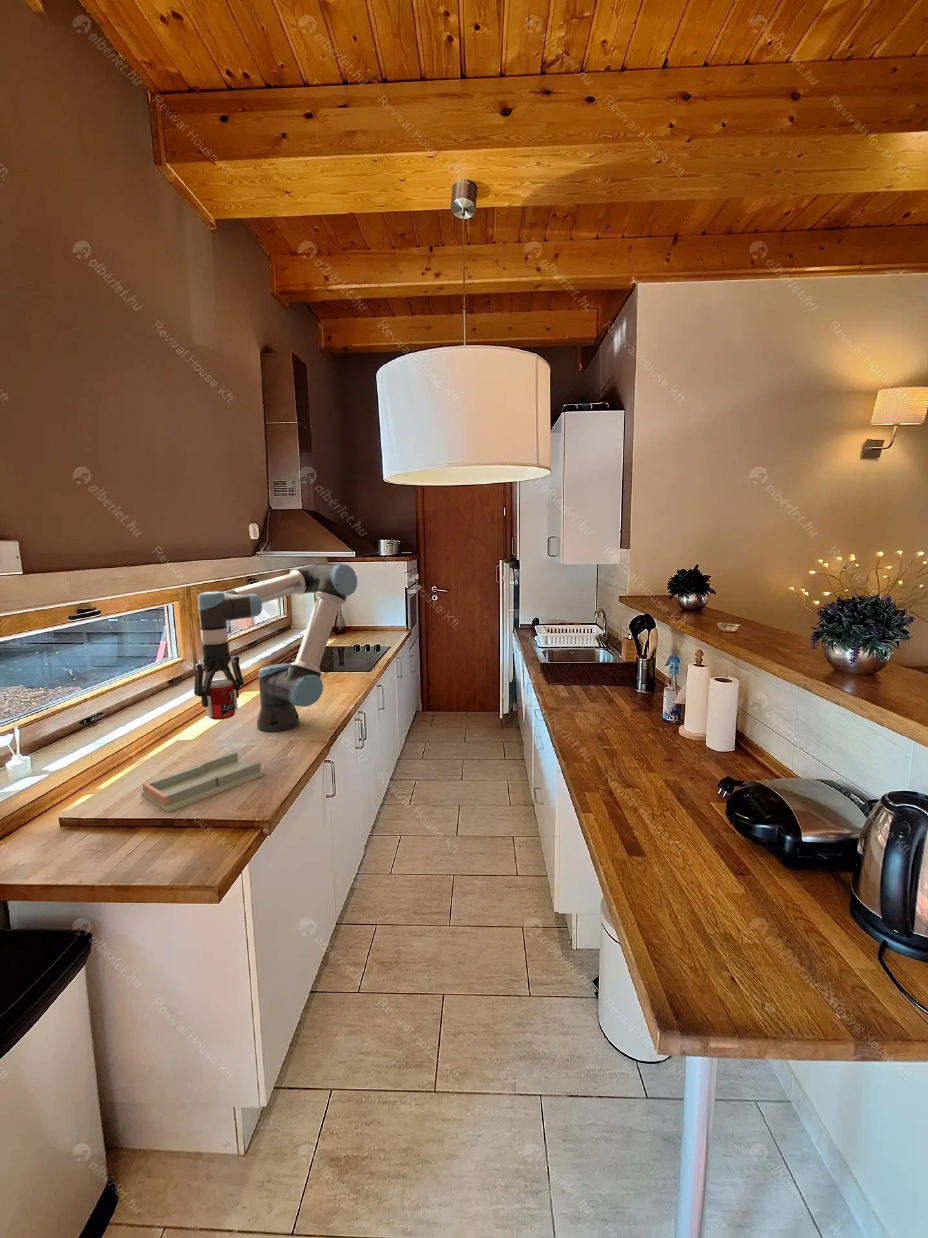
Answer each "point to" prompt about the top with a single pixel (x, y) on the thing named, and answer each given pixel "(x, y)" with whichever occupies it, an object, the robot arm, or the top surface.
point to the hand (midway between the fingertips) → (222, 712)
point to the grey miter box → (200, 781)
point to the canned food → (222, 699)
